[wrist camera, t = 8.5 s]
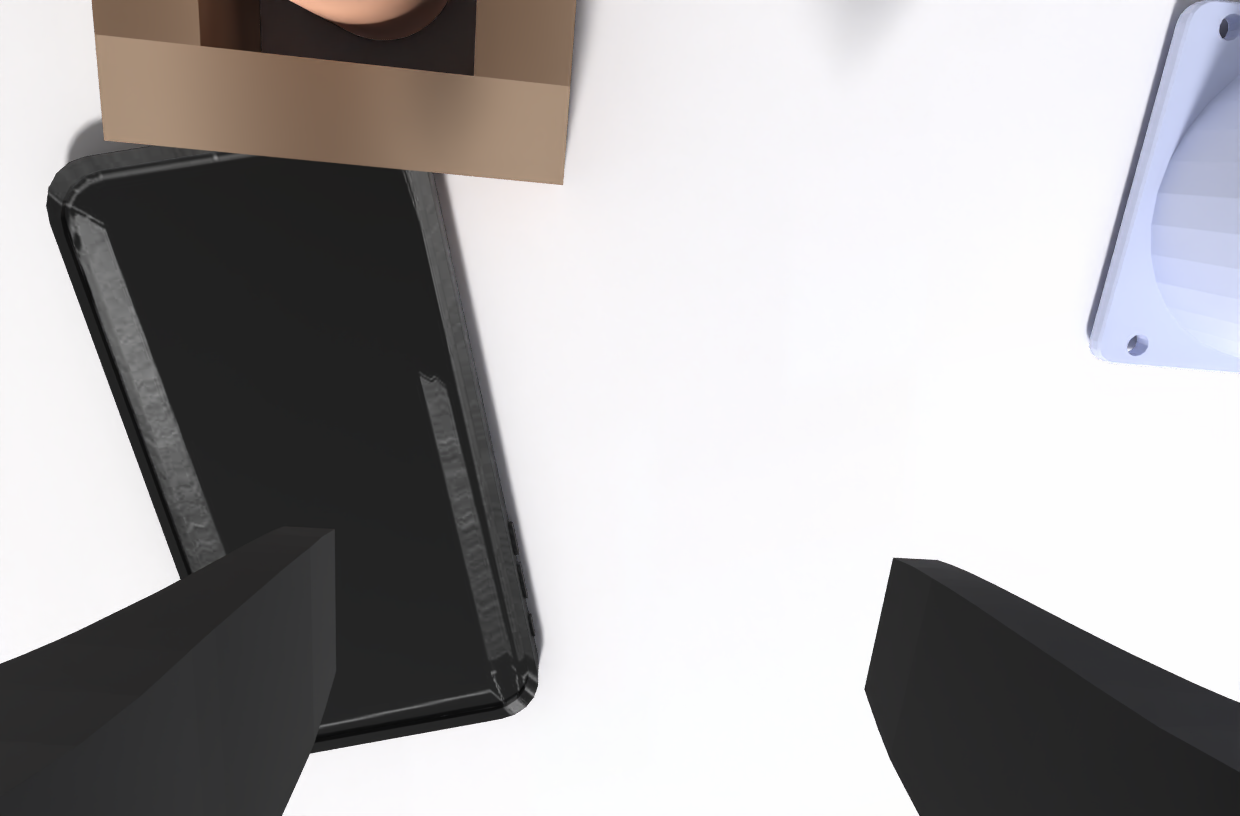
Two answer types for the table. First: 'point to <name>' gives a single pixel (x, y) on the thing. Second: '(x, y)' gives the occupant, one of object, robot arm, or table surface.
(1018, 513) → the table surface
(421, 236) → the phone
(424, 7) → the peg
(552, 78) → the socket block
